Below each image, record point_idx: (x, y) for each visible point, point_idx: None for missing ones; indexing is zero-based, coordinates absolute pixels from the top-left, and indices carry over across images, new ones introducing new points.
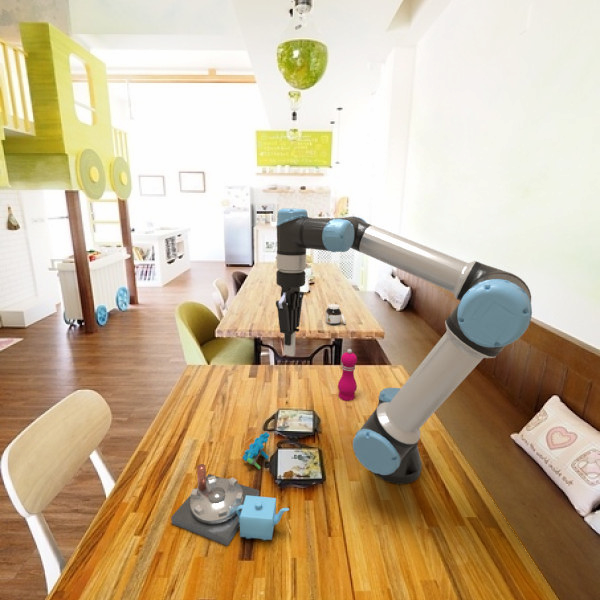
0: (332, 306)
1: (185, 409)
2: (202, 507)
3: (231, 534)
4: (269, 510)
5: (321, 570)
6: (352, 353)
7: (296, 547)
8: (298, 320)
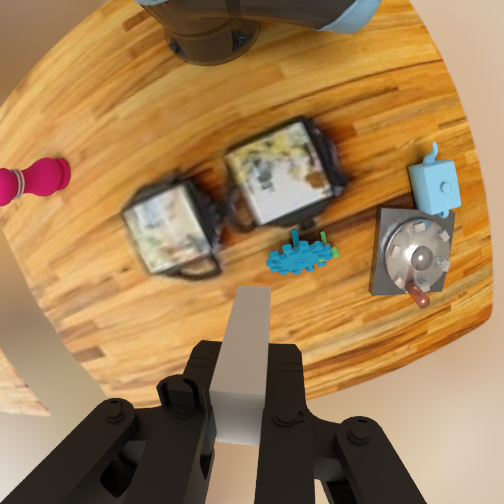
0: None
1: None
2: (438, 264)
3: None
4: (443, 169)
5: (438, 93)
6: None
7: (427, 127)
8: (98, 452)
